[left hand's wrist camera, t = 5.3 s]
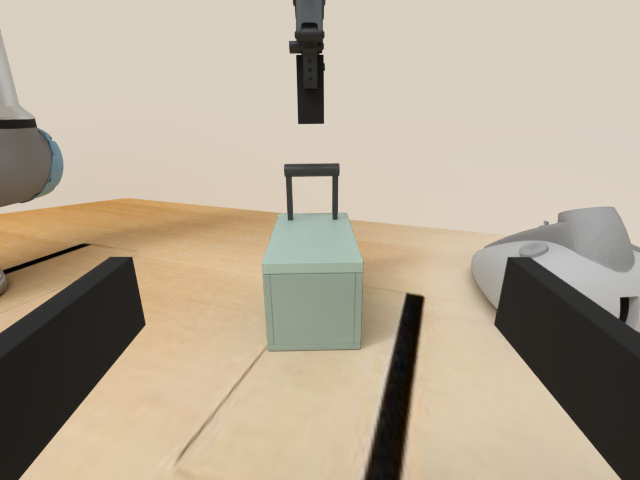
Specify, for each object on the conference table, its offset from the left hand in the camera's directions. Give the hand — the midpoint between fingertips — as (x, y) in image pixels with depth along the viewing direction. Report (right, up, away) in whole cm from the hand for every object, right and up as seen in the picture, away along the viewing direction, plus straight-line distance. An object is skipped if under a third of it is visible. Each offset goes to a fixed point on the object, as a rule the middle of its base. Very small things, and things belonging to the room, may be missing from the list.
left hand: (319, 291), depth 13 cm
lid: (-1, +2, +31) cm, 31 cm away
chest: (-1, -7, +33) cm, 34 cm away
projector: (+28, -7, +33) cm, 44 cm away
